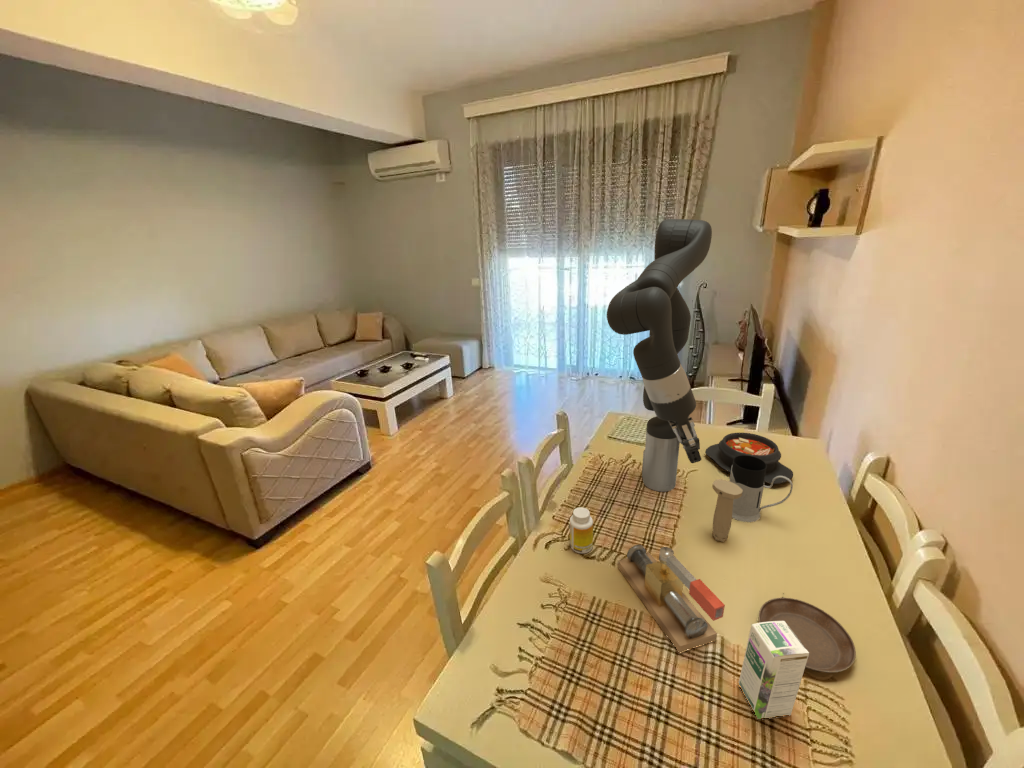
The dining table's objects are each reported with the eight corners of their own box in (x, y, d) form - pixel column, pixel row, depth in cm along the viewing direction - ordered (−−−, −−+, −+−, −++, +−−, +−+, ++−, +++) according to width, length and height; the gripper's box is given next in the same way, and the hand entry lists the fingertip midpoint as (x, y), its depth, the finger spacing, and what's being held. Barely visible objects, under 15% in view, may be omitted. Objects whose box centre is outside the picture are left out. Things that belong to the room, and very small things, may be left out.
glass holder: (728, 497, 118) (735, 450, 113) (787, 516, 110) (798, 467, 104) (719, 513, 112) (726, 465, 107) (781, 535, 103) (792, 484, 98)
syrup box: (736, 684, 72) (748, 622, 66) (769, 680, 72) (784, 618, 67) (757, 721, 66) (772, 657, 61) (793, 716, 67) (811, 652, 62)
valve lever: (656, 558, 85) (657, 547, 84) (667, 555, 86) (668, 544, 85) (711, 621, 71) (713, 609, 70) (724, 616, 72) (726, 604, 71)
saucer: (874, 676, 72) (879, 665, 71) (791, 686, 71) (794, 675, 70) (810, 603, 86) (813, 593, 85) (740, 611, 85) (742, 601, 84)
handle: (725, 549, 100) (734, 497, 95) (701, 534, 105) (708, 483, 100) (737, 541, 102) (746, 489, 97) (714, 526, 108) (721, 476, 102)
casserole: (804, 474, 126) (810, 450, 123) (770, 497, 117) (775, 471, 114) (726, 442, 146) (729, 420, 143) (692, 459, 137) (694, 437, 134)
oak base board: (618, 567, 97) (618, 560, 96) (648, 558, 99) (649, 551, 98) (679, 654, 77) (680, 646, 76) (715, 640, 79) (717, 633, 78)
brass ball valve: (624, 562, 96) (626, 530, 93) (644, 556, 98) (647, 525, 94) (684, 644, 77) (689, 607, 74) (708, 635, 79) (714, 599, 75)
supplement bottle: (597, 549, 103) (598, 515, 99) (578, 557, 100) (578, 523, 97) (584, 535, 107) (584, 502, 104) (565, 543, 105) (565, 509, 101)
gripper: (701, 399, 71) (727, 474, 77) (678, 367, 83) (702, 435, 89) (657, 415, 73) (687, 487, 79) (641, 382, 85) (667, 447, 91)
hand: (695, 459), depth 84 cm, fingers closed
